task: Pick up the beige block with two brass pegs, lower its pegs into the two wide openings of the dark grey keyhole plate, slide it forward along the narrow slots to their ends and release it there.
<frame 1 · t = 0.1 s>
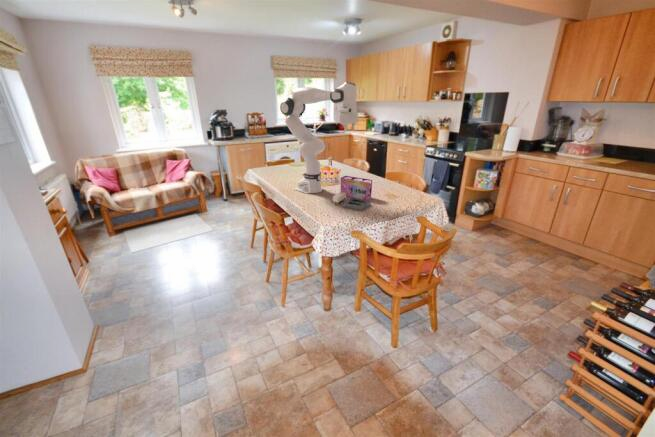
hand: (349, 130, 201), 48 cm above the table, fingers open, 8 cm apart
keyhole plate: (356, 205, 203), on the table
gum box: (355, 196, 222), on the table
beige block: (339, 202, 210), on the table
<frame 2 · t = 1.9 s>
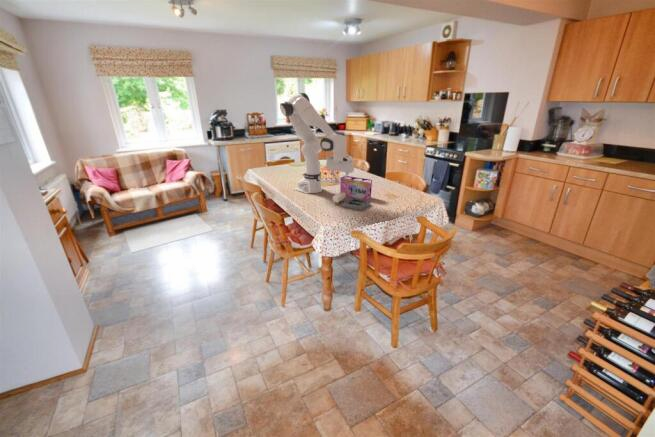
hand: (339, 177, 203), 18 cm above the table, fingers open, 8 cm apart
nothing on the table moved.
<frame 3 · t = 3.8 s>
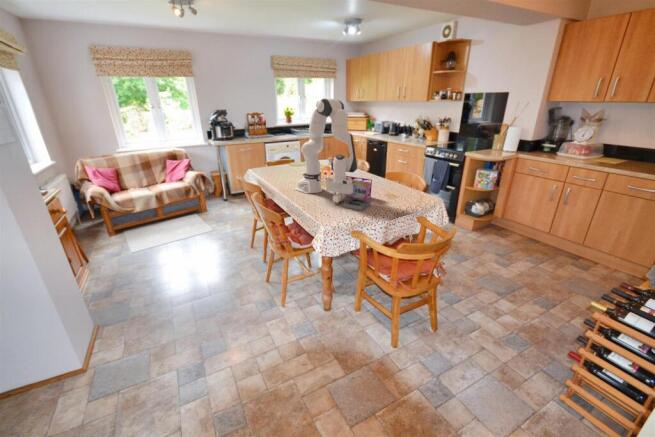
hand: (339, 198, 209), 3 cm above the table, fingers closed on beige block, 4 cm apart
beige block: (339, 202, 210), on the table, touching gripper
everything else where it was.
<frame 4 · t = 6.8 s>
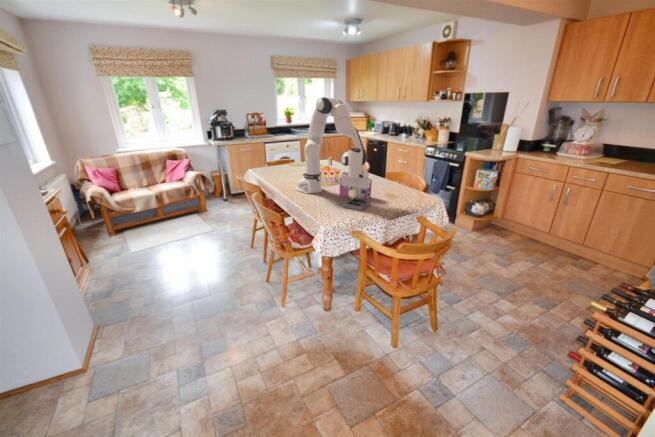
hand: (354, 193, 201), 9 cm above the table, fingers closed on beige block, 4 cm apart
beige block: (354, 197, 203), point 6 cm above the table, touching gripper
everything else where it was.
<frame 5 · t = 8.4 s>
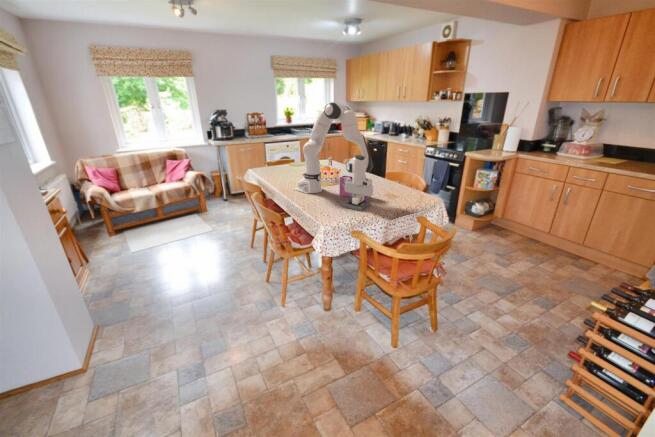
hand: (358, 200, 201), 4 cm above the table, fingers closed on beige block, 4 cm apart
beige block: (358, 204, 202), point 1 cm above the table, touching gripper
everything else where it was.
when the fingers open (4 cm above the table, at t = 9.8 s): beige block stays where it is, resting on keyhole plate.
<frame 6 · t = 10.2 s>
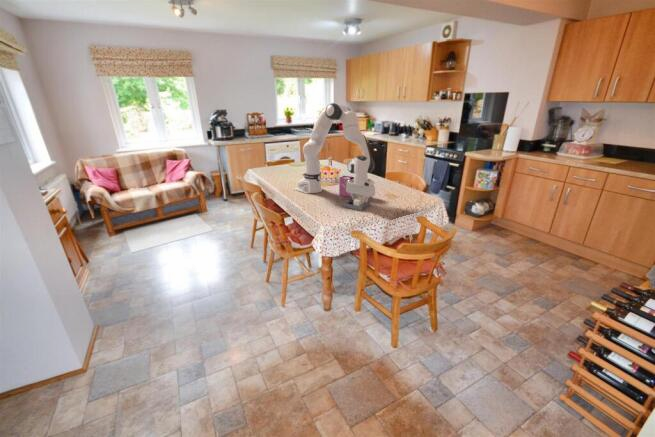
hand: (359, 200, 201), 4 cm above the table, fingers open, 8 cm apart
beige block: (359, 206, 202), resting on keyhole plate
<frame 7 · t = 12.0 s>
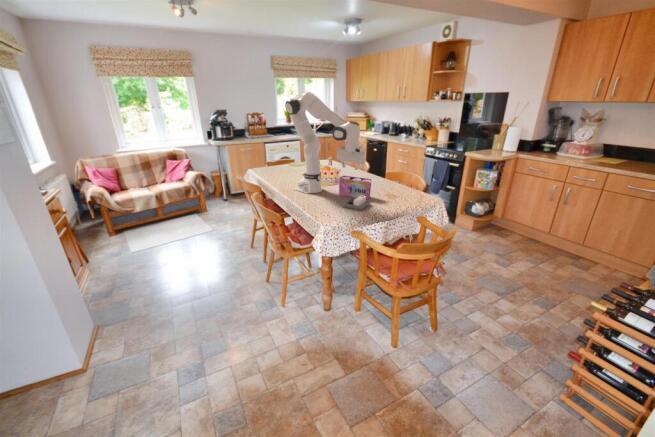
hand: (349, 168, 197), 25 cm above the table, fingers open, 8 cm apart
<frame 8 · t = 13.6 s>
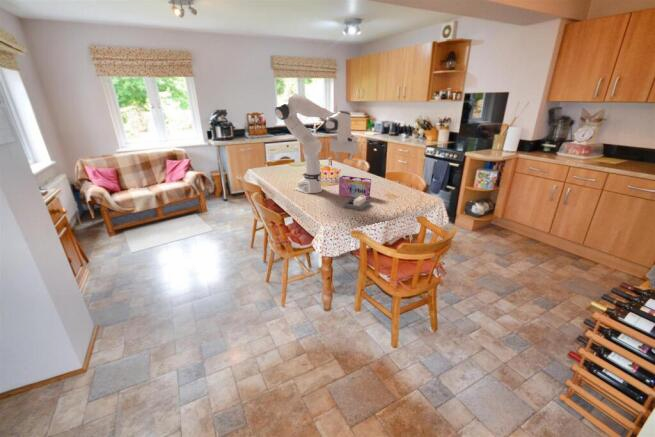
hand: (343, 159, 196), 31 cm above the table, fingers open, 8 cm apart
at the end: beige block 0.3 cm from the target spot on the keyhole plate, point 0.3 cm above the keyhole plate's base; beige block tilted 0°; the gripper is holding nothing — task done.
